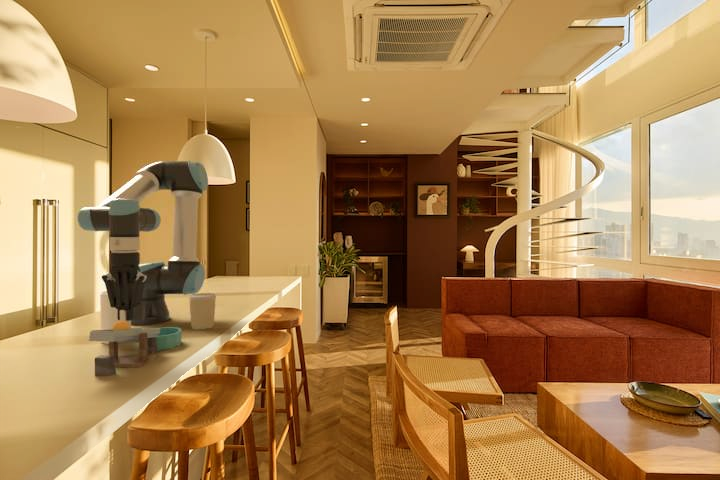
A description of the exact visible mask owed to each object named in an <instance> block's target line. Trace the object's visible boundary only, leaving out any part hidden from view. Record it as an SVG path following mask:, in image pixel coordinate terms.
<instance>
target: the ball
mask: <svg viewBox="0 0 720 480" xmlns="http://www.w3.org/2000/svg"><path fill="white" fill-rule="evenodd" d="M112 330H113V331H119V330H130V324H129V323H128V322H127V321H123V320H122V321H118V322H116V323H115V324H114V325H113V329H112Z"/></svg>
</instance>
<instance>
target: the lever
mask: <svg viewBox="0 0 720 480" xmlns="http://www.w3.org/2000/svg"><path fill="white" fill-rule="evenodd" d="M160 328H161V327H156V328H155V327H154V328H153V327H152V328H143V327H131V328H130V330H119V331H113V330H112V329H106V330H101V329H94V330H93V329H92V330H90V331H89V338H88V342H101V341H105V342H114V341H115V342H120V343H125V344H126V343H129V344H130V343H131V344H133V343H135V344H139V334H141V333H147V338H153V337H157V335H158V334H160Z"/></svg>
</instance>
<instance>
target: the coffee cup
mask: <svg viewBox="0 0 720 480" xmlns="http://www.w3.org/2000/svg"><path fill="white" fill-rule="evenodd" d="M216 298H217V296H216V294H215V293H210V292H202V293H201V292H200V293H195V294H189V298H188V300H189V311H190V312H189V313H190V324H191V325H190V326H191V329H192V330H207V328H208V329H211V328H213V327H214V326H215V313H216V312H215V311H216Z"/></svg>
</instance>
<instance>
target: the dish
mask: <svg viewBox="0 0 720 480" xmlns="http://www.w3.org/2000/svg"><path fill="white" fill-rule="evenodd" d="M159 328H160V334H158V335H157V337H156V351H164V350H169V349H168V348H170V349H173V348H176V346H177V347H178V346H180V345H182V328H181V327H178V326H177V327H176V326H175V327H174V326H165V327H159ZM172 347H173V348H172ZM163 349H164V350H163Z"/></svg>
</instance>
